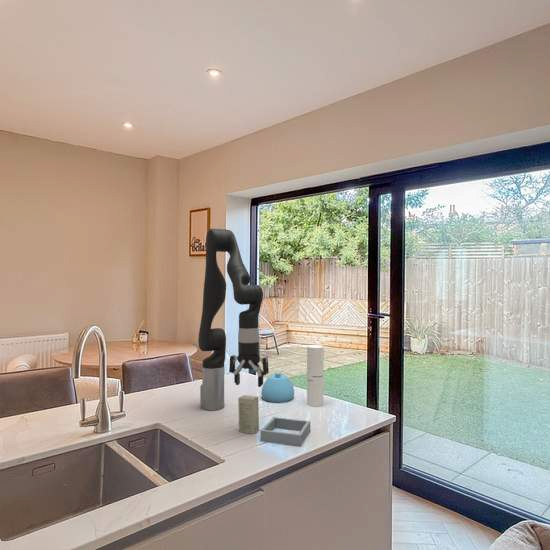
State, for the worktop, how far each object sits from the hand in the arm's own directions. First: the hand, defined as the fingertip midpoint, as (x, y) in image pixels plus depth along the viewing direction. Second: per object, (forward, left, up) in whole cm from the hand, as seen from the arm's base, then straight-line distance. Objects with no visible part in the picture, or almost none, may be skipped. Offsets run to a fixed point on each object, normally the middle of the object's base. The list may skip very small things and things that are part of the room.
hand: (248, 385), depth 148 cm
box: (+14, 0, -16) cm, 21 cm away
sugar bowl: (-2, +41, -17) cm, 44 cm away
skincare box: (0, 0, -17) cm, 17 cm away
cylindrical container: (+16, +38, -17) cm, 44 cm away
